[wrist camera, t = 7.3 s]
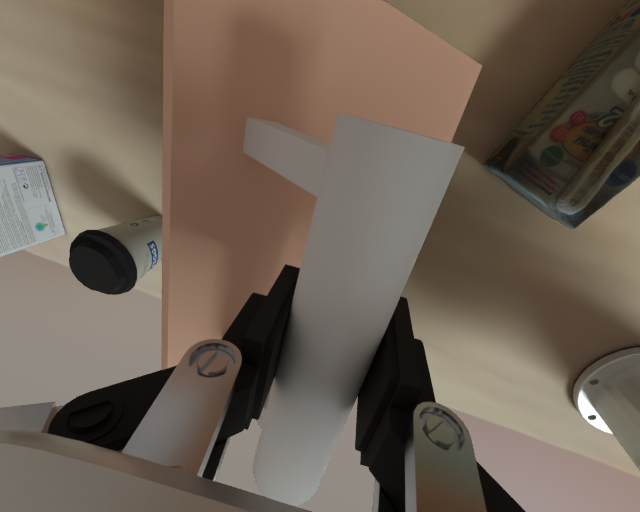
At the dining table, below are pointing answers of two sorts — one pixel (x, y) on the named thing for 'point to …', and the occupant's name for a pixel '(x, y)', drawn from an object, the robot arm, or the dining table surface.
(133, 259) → the coffee cup
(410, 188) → the flap
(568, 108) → the beverage carton
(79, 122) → the dining table surface
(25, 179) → the ink cartridge box
